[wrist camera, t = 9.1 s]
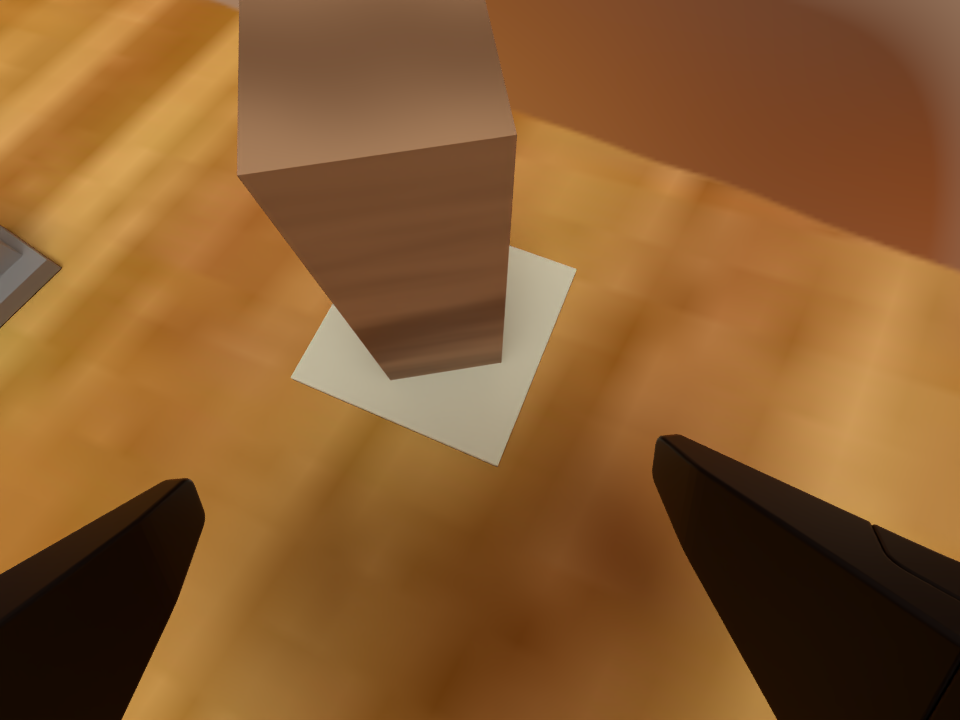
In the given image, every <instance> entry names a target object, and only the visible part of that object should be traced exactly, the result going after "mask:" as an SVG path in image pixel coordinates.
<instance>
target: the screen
mask: <svg viewBox="0 0 960 720" xmlns="http://www.w3.org/2000/svg"><path fill="white" fill-rule="evenodd" d="M60 269H61V267H59V266H58V265H57V264H55V263H54V262H52V261H51V260H50V259H48V258H47V257H45V256H44V255H43V254H41V253H40V252H38V251H37V250H35V249H34V248H33V247H31V246H30V245H28V244H27V243H26V242H24V241H23V240H21V239H20V238H19V237H17V236H16V235H14V234H13V233H11V232H10V231H9V230H7V229H6V228H4V227H3V226H1V225H0V327H1V326H2V325H3V324H4V323H5V322H6V321H7V320H8V319H9V318H10V317H11V316H12V315H13V314H14V313H15V312H16V311H17V310H18V309H19V308H20V307H21V306H22V305H23V304H25V303H26V302H27V301H28V300H29V299H30V298H31V297H32V296H33V295H34V294H35V293H36V292H37V291H38V290H39V289H40V288H41V287H42V286H43V285H44V284H45V283H46V282H47V281H48V280H49V279H51V278H52V277H53V276H54V275H55V274H56V273H57V272H58V271H59V270H60Z"/></svg>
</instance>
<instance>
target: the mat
mask: <svg viewBox="0 0 960 720" xmlns="http://www.w3.org/2000/svg"><path fill="white" fill-rule="evenodd" d="M576 270H577V269H575V268H572V267H569V266H566V265H563V264H561V263H558V262H555V261H552V260H549V259H546V258H543V257H541V256H538V255H535V254H532V253H529V252H526V251H523V250H521V249H518V248H515V247H512V246H509V258H508V273H507V288H506V303H505V317H504V332H503V347H502V362H501V363H496V364H490V365H484V366H477V367H471V368H465V369H459V370H452V371H446V372H440V373H434V374H427V375H421V376H415V377H409V378H402V379H396V380H390V379H389V378H388V376H387V375H386V374H385V372H384V371H383V370H382V368H381V367H380V366H379V364H378V363H377V362H376V360H375V359H374V358H373V356H372V355H371V354H370V352H369V351H368V350H367V348H366V347H365V346H364V344H363V343H362V342H361V340H360V339H359V338H358V336H357V335H356V334H355V332H354V331H353V330H352V328H351V327H350V326H349V324H348V323H347V322H346V320H345V319H344V318H343V316H342V315H341V314H340V312H339V311H338V310H337V308H336V307H335V306H334V304H332V306H331V308H330V310H329V311H328V313H327V315H326V317H325V318H324V320H323V322H322V324H321V325H320V327H319V329H318V331H317V332H316V334H315V336H314V338H313V339H312V341H311V343H310V345H309V346H308V348H307V350H306V352H305V353H304V355H303V357H302V359H301V360H300V362H299V364H298V366H297V367H296V369H295V371H294V372H293V374H292V376H291V378H292V379H293V380H295V381H298V382H300V383H302V384H305V385H307V386H309V387H312V388H314V389H316V390H319V391H321V392H323V393H326V394H328V395H330V396H333V397H335V398H337V399H340V400H342V401H344V402H347V403H349V404H351V405H354V406H356V407H358V408H361V409H363V410H365V411H368V412H370V413H372V414H375V415H377V416H380V417H382V418H384V419H387V420H389V421H391V422H394V423H396V424H398V425H401V426H403V427H405V428H408V429H410V430H412V431H415V432H417V433H419V434H422V435H424V436H426V437H429V438H431V439H433V440H436V441H438V442H440V443H443V444H445V445H447V446H450V447H452V448H454V449H457V450H459V451H461V452H464V453H466V454H468V455H471V456H473V457H475V458H478V459H480V460H482V461H485V462H487V463H489V464H492V465H494V466H496V467H498V464H499V462H500V459H501V457H502V454H503V452H504V449H505V447H506V444H507V442H508V439H509V437H510V434H511V432H512V429H513V427H514V424H515V422H516V419H517V417H518V415H519V412H520V410H521V407H522V405H523V402H524V400H525V397H526V395H527V392H528V390H529V387H530V385H531V382H532V380H533V377H534V375H535V372H536V370H537V367H538V365H539V362H540V360H541V357H542V355H543V352H544V350H545V347H546V345H547V342H548V340H549V337H550V335H551V332H552V330H553V327H554V325H555V322H556V320H557V317H558V315H559V313H560V310H561V308H562V305H563V303H564V300H565V298H566V295H567V293H568V290H569V288H570V285H571V283H572V280H573V278H574V275H575V273H576Z"/></svg>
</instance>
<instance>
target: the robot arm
mask: <svg viewBox="0 0 960 720" xmlns="http://www.w3.org/2000/svg"><path fill="white" fill-rule="evenodd" d="M652 474H653V479H654V483H655V485H656V487H657V490H658V492H659V494H660V497H661V499H662V502H663V504H664V506H665V509H666V511H667V513H668V516H669V518H670V521H671V523H672V525H673V528H674V530H675V532H676V535H677V537H678V539H679V542H680V544H681V546H682V548H683V550H684V552H685V554H686V556H687V558H688V560H689V562H690V563H691V565H692V567H693V569H694V571H695V572H696V574H697V576H698V578H699V580H700V581H701V583H702V585H703V587H704V589H705V590H706V592H707V594H708V596H709V598H710V599H711V601H712V603H713V605H714V607H715V608H716V610H717V612H718V614H719V616H720V617H721V619H722V621H723V623H724V625H725V626H726V628H727V630H728V632H729V634H730V635H731V637H732V639H733V641H734V643H735V644H736V646H737V648H738V650H739V652H740V653H741V655H742V657H743V659H744V661H745V662H746V664H747V666H748V668H749V670H750V671H751V673H752V675H753V677H754V679H755V680H756V682H757V684H758V686H759V688H760V689H761V691H762V693H763V695H764V697H765V698H766V700H767V702H768V704H769V706H770V707H771V709H772V711H773V713H774V715H775V716H776V718H777V720H960V562H958V561H956V560H954V559H951V558H949V557H946V556H944V555H942V554H939V553H937V552H935V551H933V550H931V549H928V548H926V547H924V546H922V545H919V544H917V543H915V542H913V541H910V540H908V539H906V538H904V537H901V536H899V535H897V534H895V533H893V532H891V531H888V530H886V529H884V528H882V527H880V526H878V525H871V523H870V522H869V521H867V520H864V519H862V518H860V517H858V516H856V515H853V514H851V513H849V512H847V511H845V510H843V509H840V508H838V507H836V506H834V505H832V504H830V503H827V502H825V501H823V500H821V499H819V498H817V497H814V496H812V495H810V494H808V493H806V492H803V491H801V490H799V489H797V488H795V487H793V486H790V485H788V484H786V483H784V482H782V481H780V480H777V479H775V478H773V477H771V476H769V475H767V474H764V473H762V472H760V471H758V470H756V469H753V468H751V467H749V466H747V465H745V464H743V463H740V462H738V461H736V460H734V459H732V458H730V457H727V456H725V455H723V454H721V453H719V452H717V451H714V450H712V449H710V448H708V447H706V446H704V445H701V444H699V443H697V442H695V441H693V440H691V439H688V438H686V437H684V436H682V435H678V434H675V435H664V436H660V437H659V438H658V439H657V441H656V445H655V453H654V460H653V468H652ZM204 522H205V513H204V509H203V507H202V504H201V501H200V498H199V496H198V493H197V490H196V488H195V485H194V483H193V482H192V481H191V480H190V479H188V478H182V479H170V480H165V481H163V482H161V483H159V484H157V485H156V486H154V487H152V488H150V489H149V490H147V491H145V492H143V493H142V494H140V495H138V496H136V497H135V498H133V499H131V500H129V501H128V502H126V503H124V504H122V505H121V506H119V507H117V508H115V509H114V510H112V511H110V512H109V513H107V514H105V515H103V516H102V517H100V518H98V519H96V520H95V521H93V522H91V523H89V524H88V525H86V526H84V527H82V528H81V529H79V530H77V531H75V532H74V533H72V534H70V535H68V536H67V537H65V538H63V539H61V540H60V541H58V542H56V543H54V544H53V545H51V546H49V547H47V548H46V549H44V550H42V551H40V552H39V553H37V554H35V555H33V556H32V557H30V558H28V559H26V560H25V561H23V562H21V563H19V564H18V565H16V566H14V567H13V568H11V569H9V570H7V571H6V572H4V573H2V574H0V720H122V718H123V715H124V713H125V711H126V709H127V707H128V705H129V703H130V701H131V698H132V696H133V694H134V692H135V690H136V688H137V686H138V684H139V681H140V679H141V677H142V675H143V673H144V671H145V669H146V667H147V664H148V662H149V660H150V658H151V656H152V654H153V652H154V650H155V647H156V645H157V643H158V641H159V639H160V637H161V635H162V633H163V630H164V628H165V626H166V624H167V622H168V620H169V618H170V616H171V613H172V611H173V609H174V606H175V604H176V602H177V599H178V597H179V594H180V592H181V589H182V586H183V583H184V580H185V578H186V575H187V572H188V569H189V566H190V563H191V560H192V558H193V555H194V552H195V549H196V546H197V543H198V541H199V538H200V535H201V532H202V529H203V526H204Z"/></svg>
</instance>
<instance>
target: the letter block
mask: <svg viewBox="0 0 960 720" xmlns="http://www.w3.org/2000/svg"><path fill="white" fill-rule="evenodd" d="M516 141H517V133H516V129H515V125H514V120H513V116H512V112H511V108H510V104H509V100H508V95H507V91H506V87H505V82H504V79H503V74H502V70H501V66H500V61H499V57H498V53H497V49H496V44H495V40H494V36H493V32H492V28H491V24H490V19H489V15H488V11H487V7H486V2H485V0H239V69H238V147H237V176H238V177H239V179H240V180H241V181H242V183H243V184H244V185H245V187H246V188H247V189H248V191H249V192H250V193H251V195H252V196H253V197H254V199H255V200H256V201H257V203H258V204H259V205H260V207H261V208H262V209H263V211H264V212H265V213H266V215H267V216H268V217H269V219H270V220H271V221H272V223H273V224H274V225H275V227H276V228H277V229H278V231H279V232H280V233H281V235H282V236H283V237H284V239H285V240H286V241H287V243H288V244H289V245H290V247H291V248H292V249H293V251H294V252H295V253H296V255H297V256H298V257H299V259H300V260H301V261H302V263H303V264H304V265H305V267H306V268H307V269H308V271H309V272H310V273H311V275H312V276H313V277H314V279H315V280H316V282H317V283H318V284H319V286H320V287H321V288H322V290H323V291H324V292H325V294H326V295H327V296H328V298H329V299H330V300H331V302H332V303H333V304H334V306H335V307H336V308H337V310H338V311H339V312H340V314H341V315H342V316H343V318H344V319H345V320H346V322H347V323H348V324H349V326H350V327H351V328H352V330H353V331H354V332H355V334H356V335H357V336H358V338H359V339H360V340H361V342H362V343H363V344H364V346H365V347H366V348H367V350H368V351H369V352H370V354H371V355H372V356H373V358H374V359H375V360H376V362H377V363H378V364H379V366H380V367H381V368H382V370H383V371H384V372H385V374H386V375H387V376H388V378H389V379H390V380H396V379H402V378H409V377H415V376H421V375H427V374H434V373H440V372H446V371H452V370H459V369H465V368H471V367H477V366H484V365H490V364H496V363H501V362H502V347H503V332H504V317H505V303H506V288H507V273H508V258H509V244H510V229H511V214H512V199H513V185H514V170H515V155H516Z"/></svg>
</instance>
